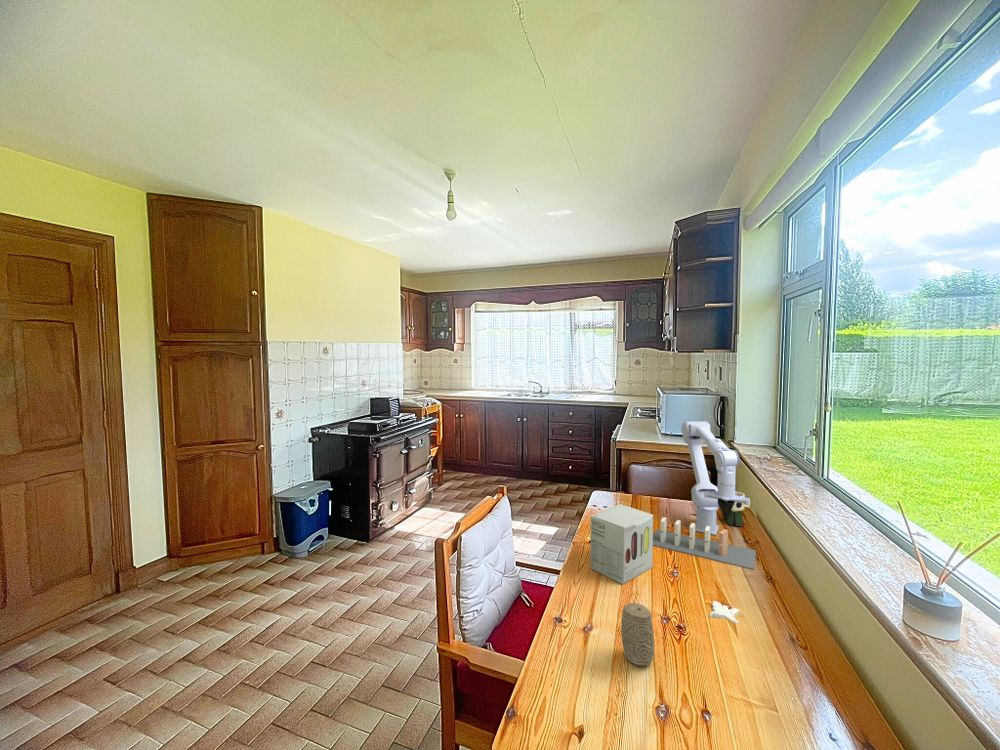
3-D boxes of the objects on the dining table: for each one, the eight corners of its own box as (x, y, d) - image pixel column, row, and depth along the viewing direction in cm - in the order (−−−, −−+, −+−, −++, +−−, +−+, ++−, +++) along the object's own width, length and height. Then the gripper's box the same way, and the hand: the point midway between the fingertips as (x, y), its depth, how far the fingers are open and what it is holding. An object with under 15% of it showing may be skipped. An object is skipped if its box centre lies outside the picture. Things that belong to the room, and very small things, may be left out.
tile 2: (677, 540, 156) (677, 519, 156) (680, 541, 155) (680, 520, 155) (674, 545, 152) (674, 524, 152) (678, 546, 151) (678, 524, 151)
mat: (656, 530, 167) (656, 529, 167) (755, 551, 148) (756, 550, 148) (647, 544, 154) (647, 543, 154) (753, 569, 135) (753, 568, 135)
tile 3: (691, 543, 153) (691, 522, 153) (695, 544, 152) (695, 523, 152) (689, 548, 149) (689, 527, 149) (692, 549, 149) (693, 527, 148)
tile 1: (663, 537, 159) (663, 517, 158) (666, 538, 158) (666, 517, 158) (660, 542, 155) (660, 521, 155) (663, 542, 154) (663, 521, 154)
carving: (627, 644, 101) (627, 596, 100) (658, 658, 96) (659, 608, 96) (616, 659, 96) (616, 609, 95) (648, 675, 91) (649, 622, 91)
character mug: (719, 524, 171) (719, 493, 170) (719, 518, 177) (720, 489, 177) (749, 530, 166) (750, 498, 165) (749, 523, 172) (750, 493, 171)
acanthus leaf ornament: (709, 619, 111) (709, 612, 111) (709, 605, 117) (709, 599, 117) (741, 627, 108) (741, 620, 108) (739, 612, 114) (739, 605, 114)
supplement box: (624, 586, 127) (624, 528, 126) (589, 569, 137) (589, 515, 136) (654, 567, 138) (654, 513, 137) (619, 552, 148) (620, 503, 147)
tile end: (723, 551, 147) (724, 529, 147) (727, 552, 146) (727, 530, 146) (718, 555, 144) (719, 532, 144) (722, 556, 143) (722, 533, 143)
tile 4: (706, 547, 150) (706, 525, 150) (710, 548, 150) (710, 526, 149) (704, 552, 147) (704, 530, 146) (708, 553, 146) (708, 531, 146)
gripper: (702, 483, 152) (702, 519, 152) (748, 489, 144) (748, 528, 144) (705, 478, 158) (705, 513, 158) (750, 484, 149) (749, 521, 150)
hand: (725, 519), depth 152 cm, fingers closed
